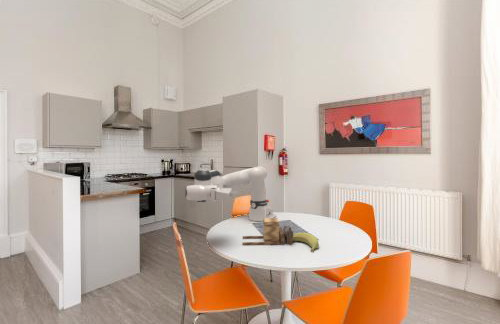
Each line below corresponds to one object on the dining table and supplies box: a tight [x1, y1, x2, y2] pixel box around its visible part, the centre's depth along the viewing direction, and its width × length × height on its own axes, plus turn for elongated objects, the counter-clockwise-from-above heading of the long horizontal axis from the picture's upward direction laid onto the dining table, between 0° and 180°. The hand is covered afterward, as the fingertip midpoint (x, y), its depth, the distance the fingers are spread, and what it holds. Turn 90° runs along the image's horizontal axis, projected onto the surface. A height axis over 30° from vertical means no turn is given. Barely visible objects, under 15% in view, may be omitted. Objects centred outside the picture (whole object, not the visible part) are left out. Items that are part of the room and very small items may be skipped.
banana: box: [293, 232, 319, 253], centre depth 140 cm, size 14×6×20 cm
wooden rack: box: [242, 225, 294, 246], centre depth 146 cm, size 28×12×10 cm, turn 91°
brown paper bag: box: [262, 217, 280, 242], centre depth 147 cm, size 8×8×12 cm
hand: (239, 193), depth 146 cm, fingers closed
